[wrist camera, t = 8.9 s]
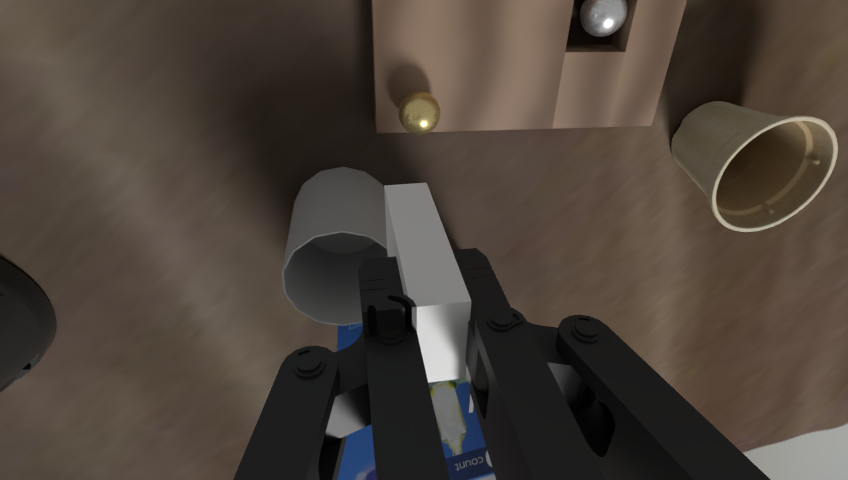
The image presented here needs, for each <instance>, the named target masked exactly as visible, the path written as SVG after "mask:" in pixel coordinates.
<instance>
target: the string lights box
mask: <svg viewBox="0 0 848 480" xmlns="http://www.w3.org/2000/svg"><path fill="white" fill-rule="evenodd" d="M362 329H363V324H362V322H361V323H356V324H351V325H346V326H340V325H338V341H337V351H340V350H342V349H344V348H346V347H348V346H350V345H351V344H353V343H354V342H355V341H356V340H357V339H358V338H359V337H360V335H361V333H362ZM470 382H471V377H470V374H469V371H468V367H466V378H461V379H453V380H445V381H438V382H430V383H428V384H429V388H430V393H431V397H432V402H433V406H434V411H435V415H436V420H437V424H438V429H439V433H440V438H441V442H442V447H443V451H444V456H445V460H446V465H447V469H448V474H449V478H450V480H496V478H495V474H494V471H493V468H492V464H491V461H490V458H489V454H488V451H487V448H486V444H485V441H484V438H483V434H482V431H481V428H480V424H479V421H478V418H477V414H476V411H475V408H474V405H473V412H471V413H469V394H470ZM337 480H376V469H375V458H374V447H373V436H372V425H368V426H366V427H364V428H362V429H360V430H358V431H355V432H353V433H351V434H349V435H347V439H346V444H345V448H344V452H343V456H342V461H341V465H340V469H339V474H338V478H337Z"/></svg>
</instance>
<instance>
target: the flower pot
mask: <svg viewBox="0 0 848 480" xmlns="http://www.w3.org/2000/svg"><path fill="white" fill-rule="evenodd" d="M671 149H672V154H673V157H674V159H675V160H676V162H677V163H678V164H679V165H680V166H681V167H682V168H683V169H684V170H685V171H686V173H687V174H688V175H689V176H690V177H691V178H692V179H693V180H694V182H695V183H696V184H697V185H698V186H699V187H700V188H701V190H702V191H703V192H704V193H705V194H706V195H707V199H708V201H709V203H710V205H711V208H712V211H713V214H714V215H715V217H716V218H717V219H718V221H719V222H720V223H721V224H723V225H724V226H725V227H727V228H729V229H732V230H735V231H741V232H753V231H759V230H763V229H767V228H769V227H773V226H775V225H777V224H780V223H781V222H783V221H785V220H786V219H788V218H790V217H791V216H793V215H794V214H796V213H797V212H799V211H800V210H801V209H802V208H804V207H805V206H806V205H807V204H808V203H809V202H810V201H811V200H812V199H813V198H814V197H815V196H816V195H817V194H818V193H819V191H820V190H821V189H822V188H823V186H824V185H825V183H826V182H827V180H828V178H829V176H830V175H831V172H832V171H833V168H834V166H835V162H836V158H837V153H838V144H837V138H836V135H835V133H834V131H833V129H832V128H831V127H830V126H829V125H828V124H827V123H826V122H824V121H823V120H821V119H818V118H816V117H812V116H804V115H799V116H775V115H771V114H767V113H763V112H759V111H756V110H752V109H748V108H745V107H741V106H738V105H734V104H732V103H729V102H722V101H714V102H709V103H706V104H703V105H701V106H699V107H697V108H696V109H694V110H693V111H691V112H690V113H689V114H688V115H687V116H686V117H685V118H684V119H683V120H682V123H681V125H680V127H679V129H678V130H677V132H676V133H675V134H674V135H673V138H672V145H671Z"/></svg>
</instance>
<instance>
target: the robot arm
mask: <svg viewBox="0 0 848 480" xmlns="http://www.w3.org/2000/svg"><path fill="white" fill-rule="evenodd" d="M384 191H385V215H386V239H387V253H388V257H384V258H372V259H364V260H363V262H362V263H361V265H360V267H359V269H358V277H359V289H360V301H361V313H362V324H363V329H362V333H361V335H360V337H359V338H358V339H357V340H356V341H355V342H354V343H353V344H351V345H350V346H348V347H346V348H344V349H342V350H340V351H337V352H332V351H331V350H329V349H327V348H325V347H320V346H307V347H303V348H301V349H298V350H295V351H294V352H293V353H291V354H290V355H288V356H287V357H286V359H285V360H284V362H283V363H282V364H281V367H280V369H279V372H278V374H277V376H276V379H275V381H274V384H273V386H272V388H271V391H270V393H269V396H268V398H267V400H266V403H265V405H264V408H263V410H262V412H261V415H260V417H259V419H258V422H257V424H256V427H255V429H254V431H253V434H252V436H251V439H250V441H249V443H248V446H247V448H246V451H245V453H244V455H243V458H242V460H241V463H240V465H239V467H238V470H237V472H236V475H235V477H234V479H233V480H337V478H338V474H339V469H340V465H341V461H342V456H343V452H344V448H345V444H346V439H347V435H349V434H351V433H353V432H355V431H358V430H360V429H362V428H364V427H366V426H368V425H372V436H373V447H374V458H375V469H376V480H450V478H449V474H448V469H447V465H446V460H445V456H444V451H443V447H442V442H441V438H440V433H439V429H438V424H437V420H436V415H435V411H434V406H433V402H432V397H431V393H430V388H429V384H428V383H430V382H438V381H445V380H453V379H461V378H466V367H468V371H469V374H470V377H471V382H470V394H469V413H471V412H473V405H474V408H475V411H476V414H477V418H478V421H479V424H480V428H481V431H482V434H483V438H484V441H485V444H486V448H487V451H488V454H489V458H490V461H491V464H492V468H493V471H494V474H495V478H496V480H770V479H769V478H768V477H767V476H766V475H765V474H764V473H763V472H762V471H761V470H760V469H758V467H756V466H755V465H754V464H753V463H752V462H751V461H750V460H749V459H748V458H747V457H746V456H745V455H744V454H743V453H742V452H741V451H739V450H738V449H737V448H736V447H735V446H734V445H733V444H732V443H731V442H730V441H729V440H728V439H727V438H726V437H725V436H724V435H722V434H721V433H720V432H719V431H718V430H717V429H716V428H715V427H714V426H713V425H712V424H711V423H710V422H709V421H708V420H707V419H705V418H704V417H703V416H702V415H701V414H700V413H699V412H698V411H697V410H696V409H695V408H694V407H693V406H692V405H691V404H690V403H688V402H687V401H686V400H685V399H684V398H683V397H682V396H681V395H680V394H679V393H678V392H677V391H676V390H675V389H674V388H673V387H671V386H670V385H669V384H668V383H667V382H666V381H665V380H664V379H663V378H662V377H661V376H660V375H659V374H658V373H657V372H656V371H654V370H653V369H652V368H651V367H650V366H649V365H648V364H647V363H646V362H645V361H644V360H643V359H642V358H641V357H640V356H639V355H637V354H636V353H635V352H634V351H633V350H632V349H631V348H630V347H629V346H628V345H627V344H626V343H625V342H624V341H623V340H622V339H620V338H619V337H618V336H617V335H616V334H615V333H614V332H613V331H612V330H611V329H610V328H609V327H608V326H607V325H605V324H604V323H602V322H601V321H600V320H598V319H595V318H592V317H590V316H584V315H573V316H569V317H567V318H565V319H563V320H562V321H561V323H560V325H559V327H558V328H556V327H548V326H540V325H536V324H532V323H529V322H527V321H526V319H525V318H524V316H523V315H522V314H521V313H520V312H518V311H517V310H515V309H513V308H511V307H510V305H509V303H508V301H507V299H506V297H505V294H504V292H503V290H502V288H501V286H500V284H499V282H498V280H497V278H496V275H495V273H494V271H493V269H492V267H491V265H490V263H489V261H488V259H487V257H486V256H485V255H484V254H483V253H481V252H480V251H479V250H478V249H476V248H472V249H461V250H452V249H451V246H450V243H449V241H448V238H447V235H446V233H445V230H444V228H443V225H442V222H441V220H440V217H439V214H438V212H437V209H436V206H435V204H434V201H433V199H432V196H431V193H430V191H429V188H428V185H427V183H413V184H399V185H384ZM55 333H56V317H55V313H54V311H53V308H52V306H51V304H50V302H49V300H48V299H47V297H46V296H45V294H44V293H43V292H42V290H41V289H40V288H39V287H38V286H37V285H36V284H35V283H34V282H33V281H32V280H31V279H30V278H29V277H28V276H26V275H25V274H24V273H22V272H21V271H20V270H18V269H17V268H15V267H14V266H12V265H11V264H9V263H7V262H6V261H4V260H2V259H0V392H1V391H3V390H4V389H5V388H7V387H8V386H9V385H10V384H12V383H13V382H14V381H15V380H17V379H19V378H21V377H22V376H23V375H25V374H26V373H28V372H29V371H30V370H31V369H32V368H33V367H34V366H35V365H36V364H37V363H38V362H39V361H40V359H41V358H42V356H43V355H44V354H45V352H46V351H47V349H48V348H49V346H50V345H51V343H52V341H53V339H54V337H55Z"/></svg>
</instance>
